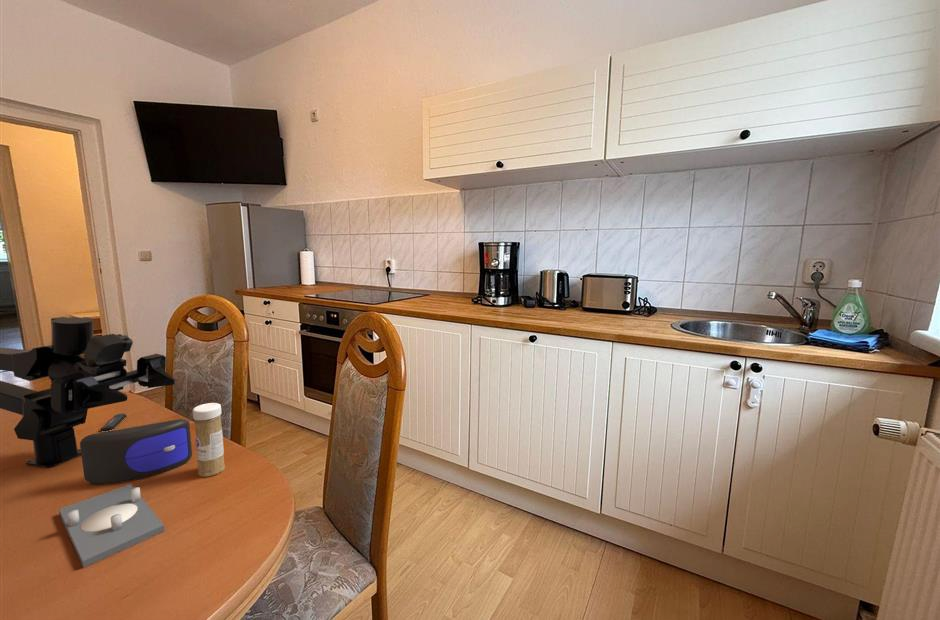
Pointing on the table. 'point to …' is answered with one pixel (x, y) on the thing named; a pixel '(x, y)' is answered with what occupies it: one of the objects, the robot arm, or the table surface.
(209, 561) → the table surface
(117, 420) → the usb stick
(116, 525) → the pin board
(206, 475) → the sprinkles bottle
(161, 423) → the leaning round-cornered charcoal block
